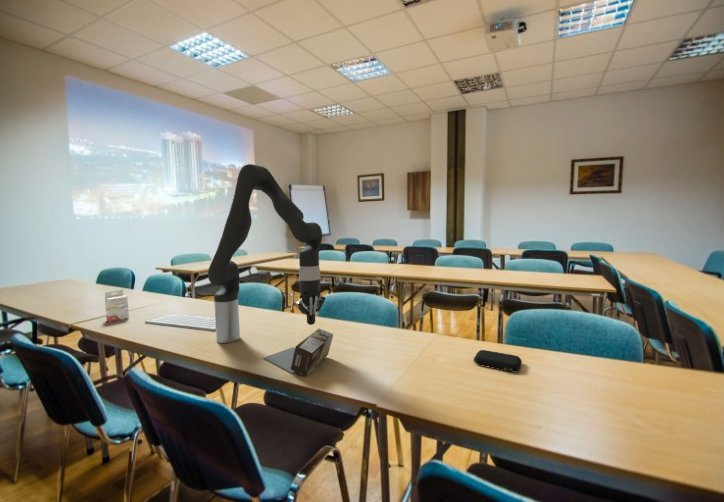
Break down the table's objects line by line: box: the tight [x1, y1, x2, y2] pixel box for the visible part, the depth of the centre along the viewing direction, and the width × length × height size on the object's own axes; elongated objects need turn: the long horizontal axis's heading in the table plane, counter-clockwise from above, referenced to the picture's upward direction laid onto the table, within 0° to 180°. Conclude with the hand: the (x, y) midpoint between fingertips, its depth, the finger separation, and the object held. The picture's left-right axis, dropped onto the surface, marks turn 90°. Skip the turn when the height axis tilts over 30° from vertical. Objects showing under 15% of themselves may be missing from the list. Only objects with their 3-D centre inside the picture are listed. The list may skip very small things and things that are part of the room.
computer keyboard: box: [144, 313, 216, 332], centre depth 169 cm, size 43×19×2 cm, turn 70°
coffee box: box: [291, 328, 334, 377], centre depth 117 cm, size 9×6×16 cm
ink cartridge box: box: [104, 289, 130, 323], centre depth 174 cm, size 9×5×15 cm, turn 144°
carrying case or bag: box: [473, 349, 523, 372], centre depth 116 cm, size 11×3×15 cm
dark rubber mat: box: [262, 346, 324, 375], centre depth 122 cm, size 18×13×1 cm
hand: (311, 324), depth 125 cm, fingers closed
